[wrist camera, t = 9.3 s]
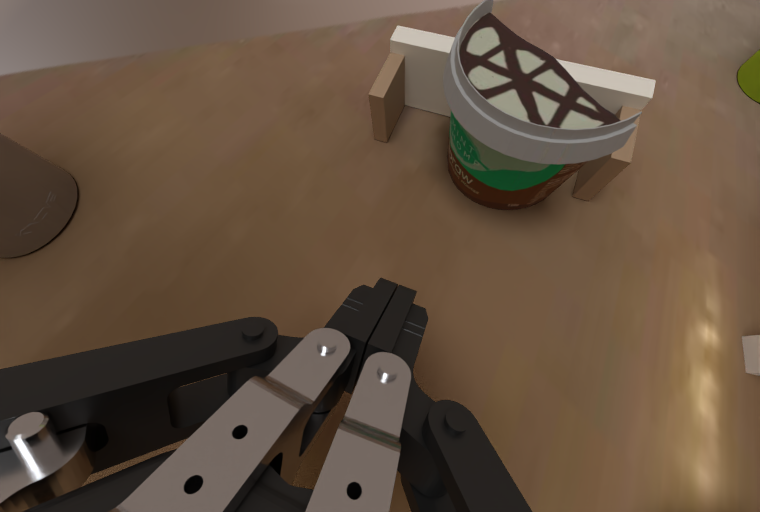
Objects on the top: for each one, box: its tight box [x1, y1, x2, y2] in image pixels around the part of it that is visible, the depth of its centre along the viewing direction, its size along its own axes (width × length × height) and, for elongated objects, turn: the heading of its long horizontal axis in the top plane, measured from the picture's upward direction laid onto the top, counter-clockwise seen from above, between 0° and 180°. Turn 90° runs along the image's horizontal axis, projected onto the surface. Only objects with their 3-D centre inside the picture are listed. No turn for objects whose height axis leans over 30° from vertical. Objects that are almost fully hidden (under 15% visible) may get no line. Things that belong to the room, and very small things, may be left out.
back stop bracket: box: [369, 26, 656, 201], centre depth 25 cm, size 18×6×6 cm, turn 68°
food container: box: [443, 0, 642, 210], centre depth 22 cm, size 12×6×10 cm, turn 33°
